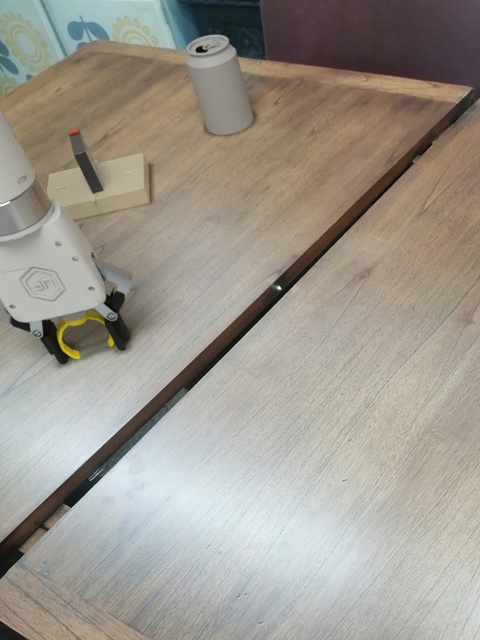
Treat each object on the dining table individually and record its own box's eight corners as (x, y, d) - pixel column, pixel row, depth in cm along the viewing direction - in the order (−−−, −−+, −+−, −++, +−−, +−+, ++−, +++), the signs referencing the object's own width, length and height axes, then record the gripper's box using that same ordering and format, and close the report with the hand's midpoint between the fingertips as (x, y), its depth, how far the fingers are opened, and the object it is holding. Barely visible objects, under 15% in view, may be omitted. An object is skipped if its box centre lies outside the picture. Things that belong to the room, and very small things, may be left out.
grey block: (103, 190, 96) (84, 149, 91) (92, 193, 96) (72, 153, 91) (97, 167, 100) (78, 126, 95) (86, 170, 100) (67, 130, 95)
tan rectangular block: (54, 232, 97) (42, 211, 94) (59, 191, 104) (48, 170, 101) (152, 210, 97) (143, 189, 95) (151, 170, 104) (142, 149, 101)
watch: (74, 370, 80) (47, 330, 75) (70, 356, 81) (44, 316, 76) (124, 351, 81) (101, 310, 76) (119, 338, 82) (96, 296, 77)
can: (204, 124, 110) (177, 40, 100) (248, 111, 111) (226, 26, 101) (213, 145, 106) (186, 59, 96) (260, 131, 107) (238, 44, 97)
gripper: (-91, 247, 63) (17, 388, 78) (95, 205, 64) (167, 353, 78) (-76, 204, 67) (23, 344, 82) (98, 165, 68) (166, 311, 83)
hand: (93, 347), depth 80 cm, fingers closed on watch, 6 cm apart
